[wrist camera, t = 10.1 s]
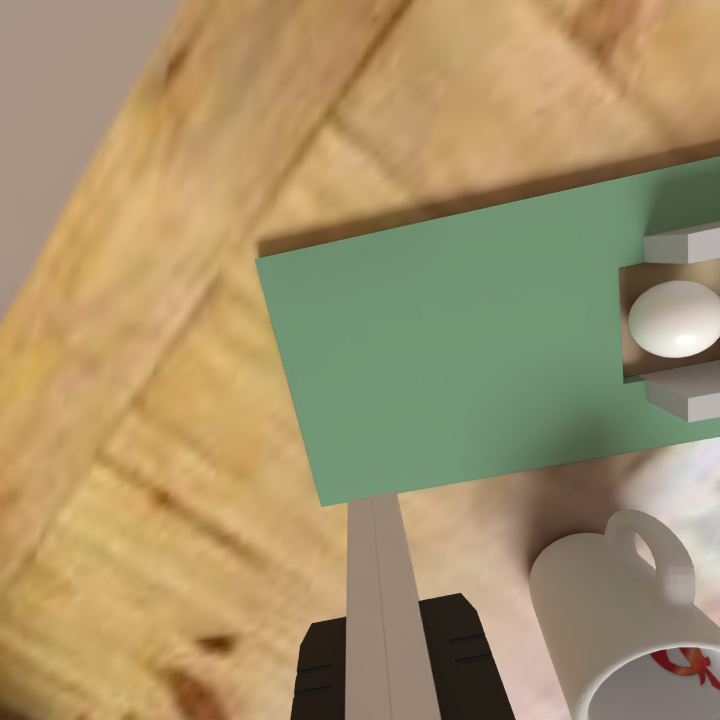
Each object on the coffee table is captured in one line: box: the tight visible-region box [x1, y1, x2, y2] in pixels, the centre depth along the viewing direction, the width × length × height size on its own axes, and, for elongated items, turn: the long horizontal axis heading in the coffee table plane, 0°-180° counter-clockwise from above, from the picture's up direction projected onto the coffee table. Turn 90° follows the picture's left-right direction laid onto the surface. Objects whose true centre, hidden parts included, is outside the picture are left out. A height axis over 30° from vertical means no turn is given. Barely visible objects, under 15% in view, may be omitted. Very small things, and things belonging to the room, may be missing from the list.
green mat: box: [255, 156, 720, 507], centre depth 21 cm, size 25×14×1 cm, turn 102°
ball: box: [628, 280, 720, 358], centre depth 19 cm, size 4×4×4 cm
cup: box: [529, 510, 720, 720], centre depth 20 cm, size 11×8×8 cm
